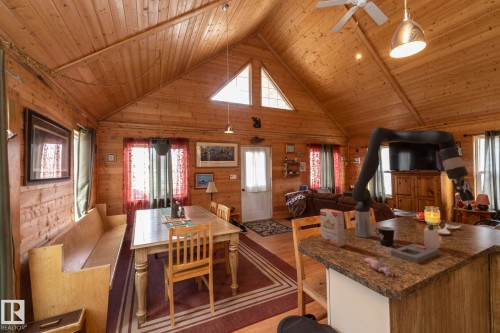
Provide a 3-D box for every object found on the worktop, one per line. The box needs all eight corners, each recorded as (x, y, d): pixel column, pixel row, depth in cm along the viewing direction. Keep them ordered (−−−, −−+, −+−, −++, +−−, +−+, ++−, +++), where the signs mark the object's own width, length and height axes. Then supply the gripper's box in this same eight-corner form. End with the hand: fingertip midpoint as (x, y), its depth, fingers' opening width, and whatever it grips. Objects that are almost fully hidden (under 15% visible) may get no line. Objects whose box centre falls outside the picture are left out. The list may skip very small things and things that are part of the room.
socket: (417, 263, 106) (416, 256, 106) (391, 255, 116) (390, 249, 116) (438, 254, 116) (438, 247, 116) (413, 247, 127) (413, 242, 127)
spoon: (462, 229, 162) (461, 224, 162) (447, 237, 144) (447, 232, 144) (446, 227, 169) (445, 222, 169) (430, 234, 152) (430, 229, 152)
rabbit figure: (399, 279, 94) (369, 260, 108) (400, 266, 93) (370, 249, 107) (389, 282, 92) (359, 263, 106) (390, 268, 91) (360, 251, 105)
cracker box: (320, 241, 143) (319, 209, 144) (327, 240, 146) (326, 208, 147) (338, 247, 131) (336, 212, 132) (345, 245, 134) (343, 211, 134)
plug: (435, 249, 123) (433, 226, 123) (424, 247, 127) (423, 224, 128) (439, 247, 125) (438, 224, 126) (429, 245, 130) (427, 223, 130)
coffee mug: (398, 247, 128) (397, 230, 128) (381, 247, 129) (380, 230, 130) (389, 241, 139) (388, 225, 139) (374, 241, 141) (373, 225, 141)
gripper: (450, 171, 115) (463, 201, 110) (440, 169, 108) (453, 202, 103) (469, 166, 109) (483, 198, 104) (459, 164, 102) (474, 199, 97)
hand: (468, 200), depth 104 cm, fingers open, 8 cm apart
